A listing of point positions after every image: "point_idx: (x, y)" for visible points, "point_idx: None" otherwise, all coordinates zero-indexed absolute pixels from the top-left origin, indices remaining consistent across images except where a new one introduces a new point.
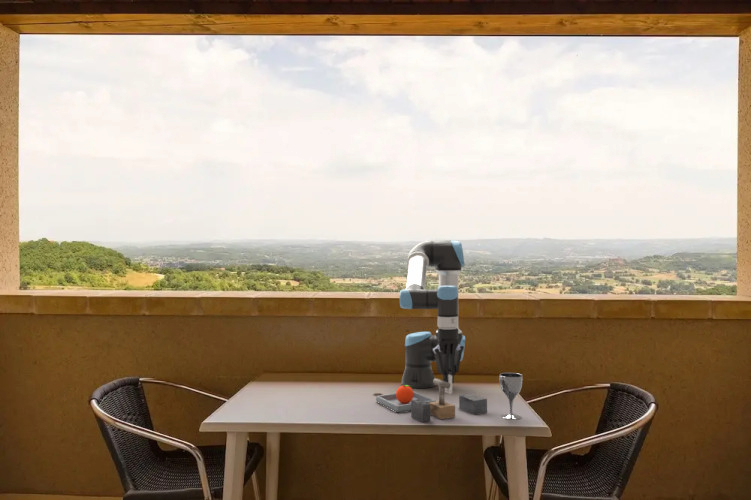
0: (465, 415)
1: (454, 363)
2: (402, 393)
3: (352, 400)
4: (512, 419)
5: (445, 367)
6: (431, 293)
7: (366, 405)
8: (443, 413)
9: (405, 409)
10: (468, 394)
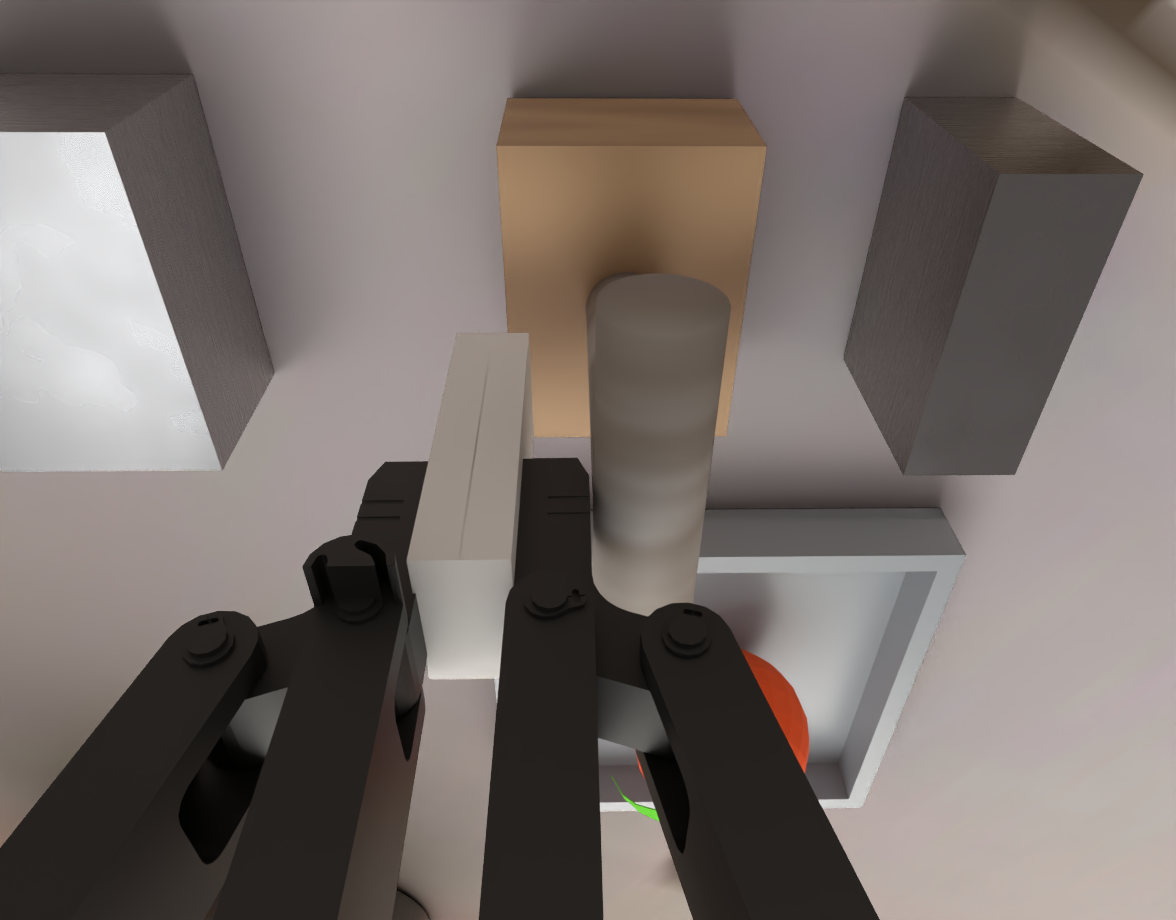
0: (328, 104)
1: (177, 898)
2: (793, 725)
3: (945, 829)
4: None
5: (595, 772)
6: None
7: (964, 734)
8: (707, 120)
9: (856, 524)
10: (72, 451)
